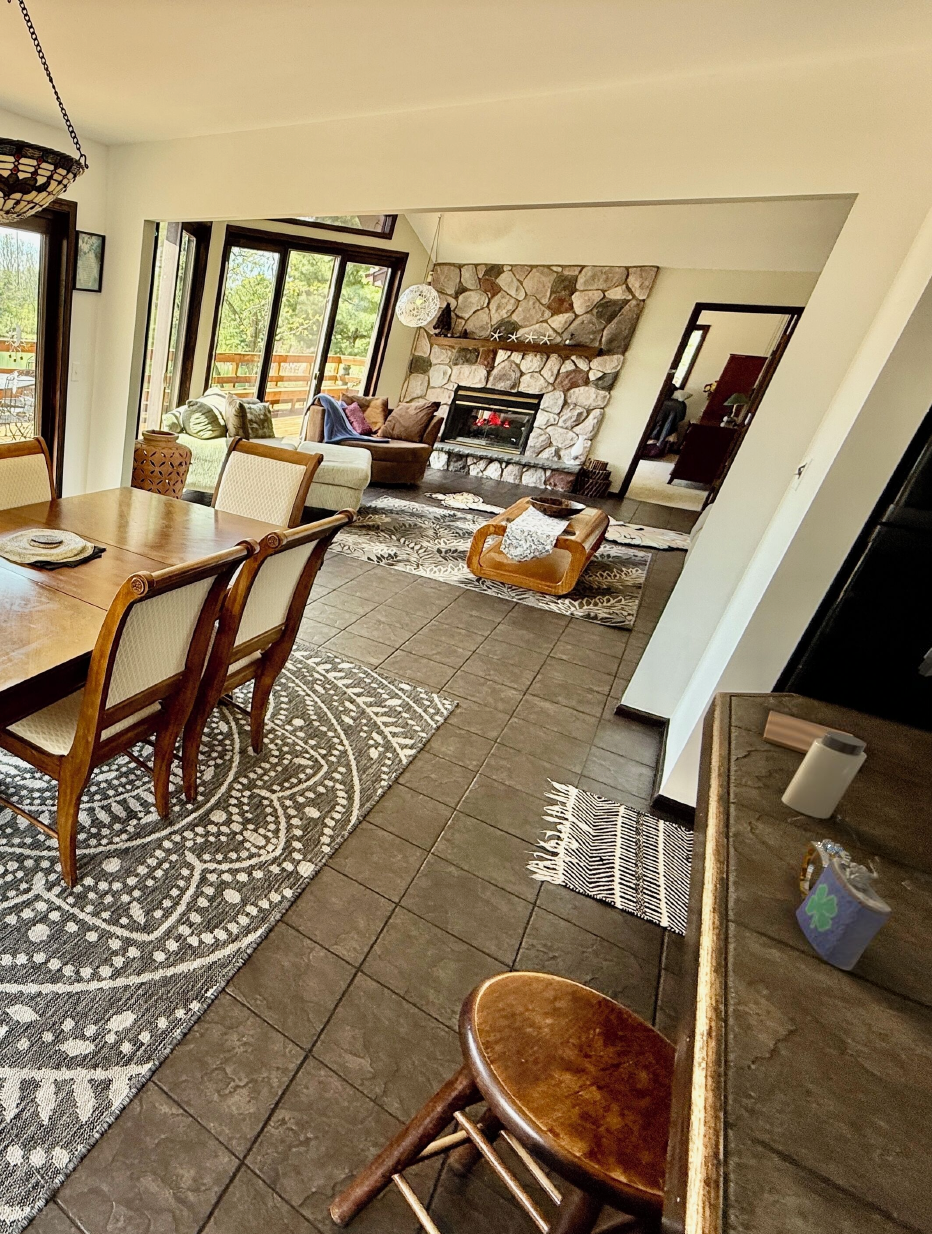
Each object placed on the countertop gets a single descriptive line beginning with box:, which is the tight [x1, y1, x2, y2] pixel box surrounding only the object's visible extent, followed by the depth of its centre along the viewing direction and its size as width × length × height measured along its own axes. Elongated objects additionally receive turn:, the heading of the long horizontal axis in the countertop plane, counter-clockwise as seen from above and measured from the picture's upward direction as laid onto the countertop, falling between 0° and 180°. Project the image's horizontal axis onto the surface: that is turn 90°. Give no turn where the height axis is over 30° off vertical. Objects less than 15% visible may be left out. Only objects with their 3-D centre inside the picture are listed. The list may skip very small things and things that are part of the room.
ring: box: [797, 838, 852, 900], centre depth 78 cm, size 7×3×8 cm, turn 138°
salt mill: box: [781, 731, 868, 819], centre depth 95 cm, size 5×5×12 cm
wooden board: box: [762, 710, 854, 755], centre depth 117 cm, size 16×11×1 cm
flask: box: [795, 857, 893, 971], centre depth 70 cm, size 9×3×11 cm, turn 150°
